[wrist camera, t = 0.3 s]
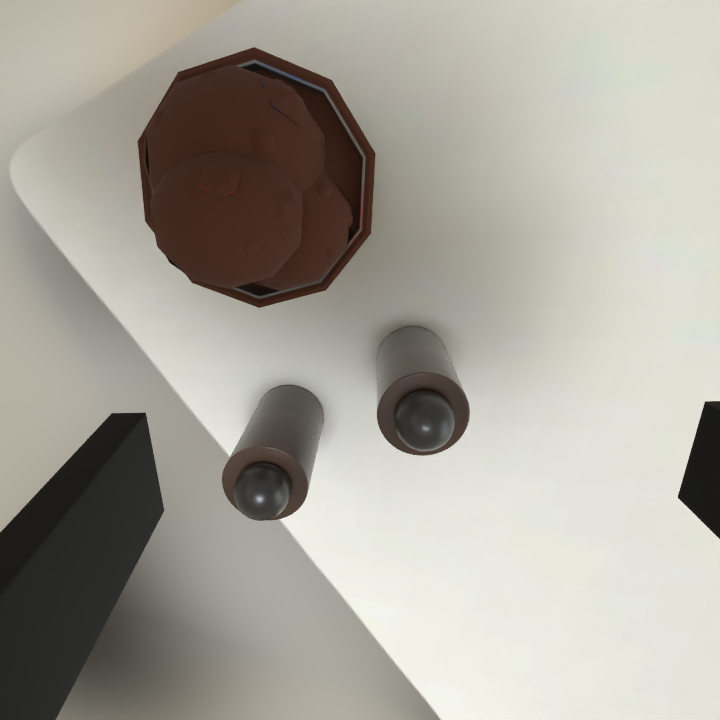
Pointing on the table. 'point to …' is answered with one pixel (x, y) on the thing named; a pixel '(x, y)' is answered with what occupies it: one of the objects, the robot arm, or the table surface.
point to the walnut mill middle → (419, 393)
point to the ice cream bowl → (256, 178)
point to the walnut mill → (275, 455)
